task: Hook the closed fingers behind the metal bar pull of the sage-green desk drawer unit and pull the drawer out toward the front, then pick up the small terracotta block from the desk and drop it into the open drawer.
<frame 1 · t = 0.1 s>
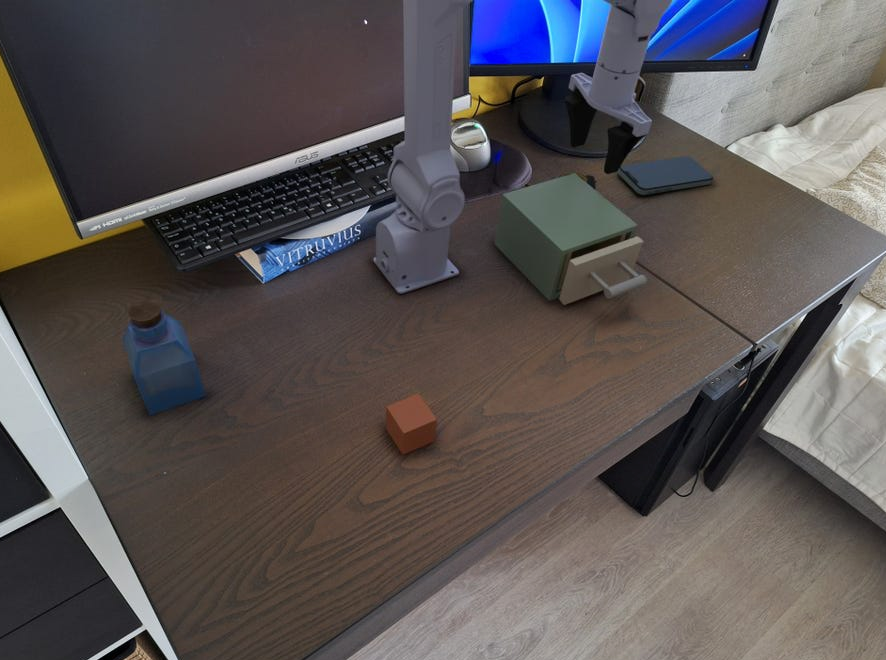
hand: (593, 158, 96), 10 cm above the table, tool pointing down, fingers open, 7 cm apart
smartphone: (663, 180, 112), on the table
perfume bottle: (171, 387, 77), on the table
block: (410, 434, 74), on the table
drawer: (585, 256, 90), point 4 cm above the table, slide at 1.0 cm
cabinet: (556, 259, 96), on the table
tape measure: (575, 203, 106), on the table
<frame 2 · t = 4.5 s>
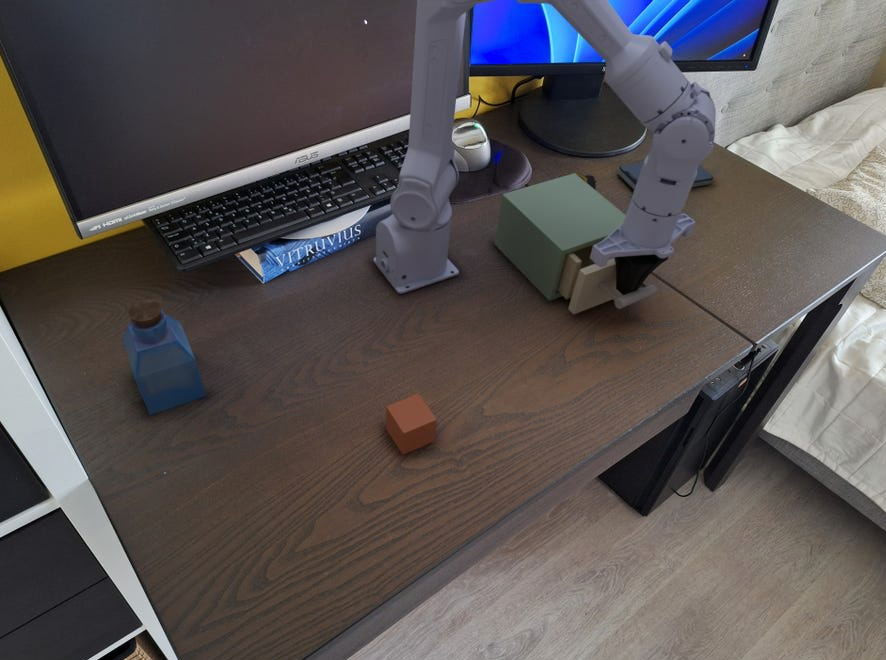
hand: (624, 291, 86), 4 cm above the table, tool pointing down, fingers closed, pressing on drawer
drawer: (594, 264, 89), point 4 cm above the table, slide at 3.0 cm, touching gripper
everything else where it was.
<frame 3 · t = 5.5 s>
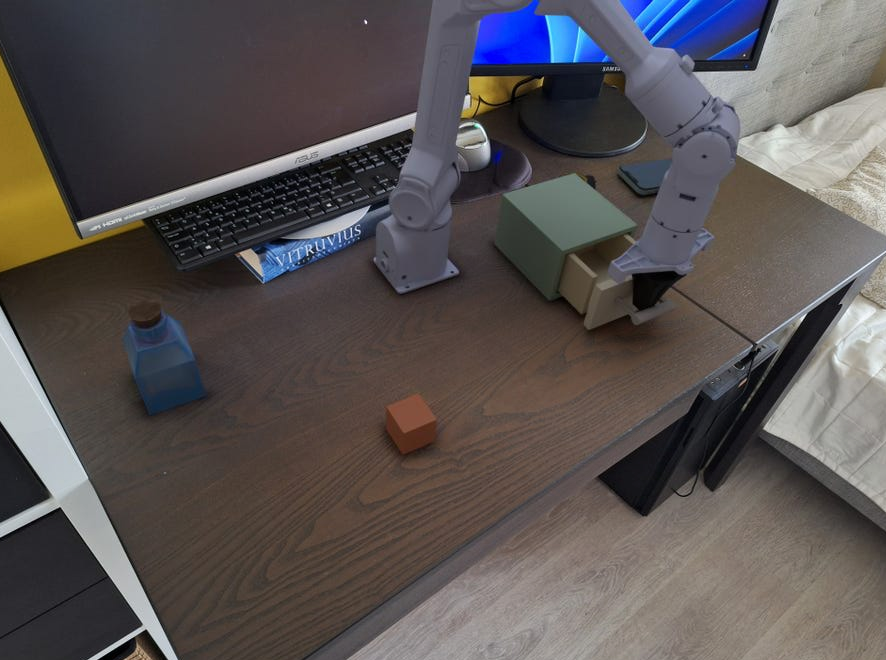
hand: (641, 306, 84), 4 cm above the table, tool pointing down, fingers closed, pressing on drawer
drawer: (610, 279, 87), point 4 cm above the table, slide at 6.2 cm, touching gripper
everything else where it was.
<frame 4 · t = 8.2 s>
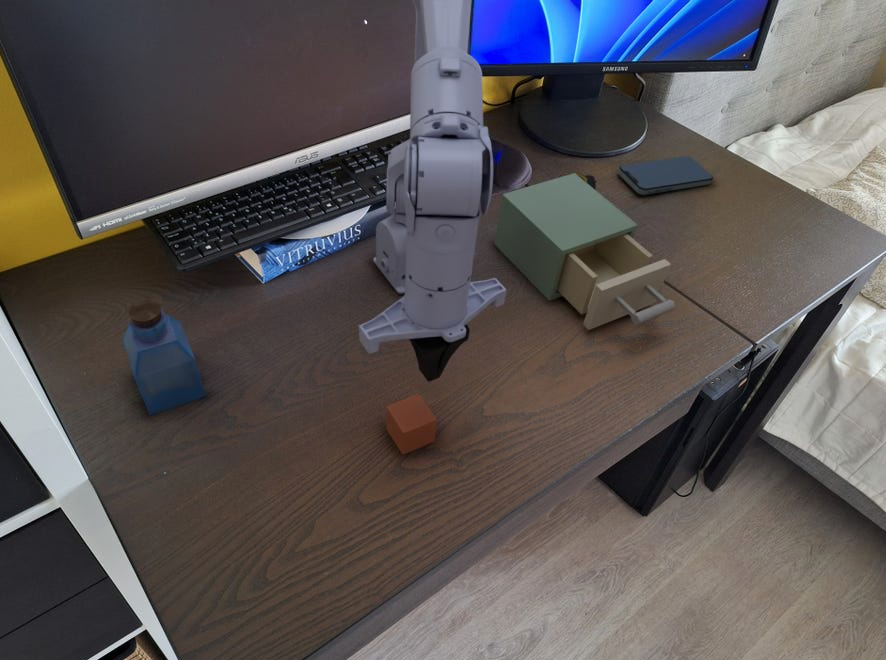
hand: (429, 373, 68), 9 cm above the table, tool pointing down, fingers closed
drawer: (610, 279, 87), point 4 cm above the table, slide at 6.2 cm
everything else where it was.
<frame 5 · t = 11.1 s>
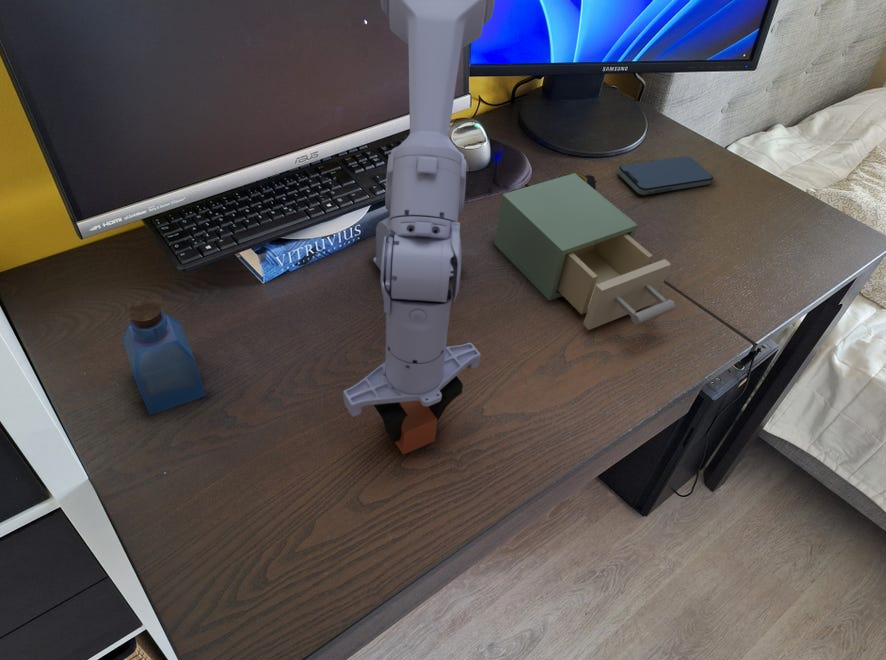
hand: (410, 427, 73), 1 cm above the table, tool pointing down, fingers closed on block, 4 cm apart
block: (410, 434, 74), on the table, touching gripper
everything else where it was.
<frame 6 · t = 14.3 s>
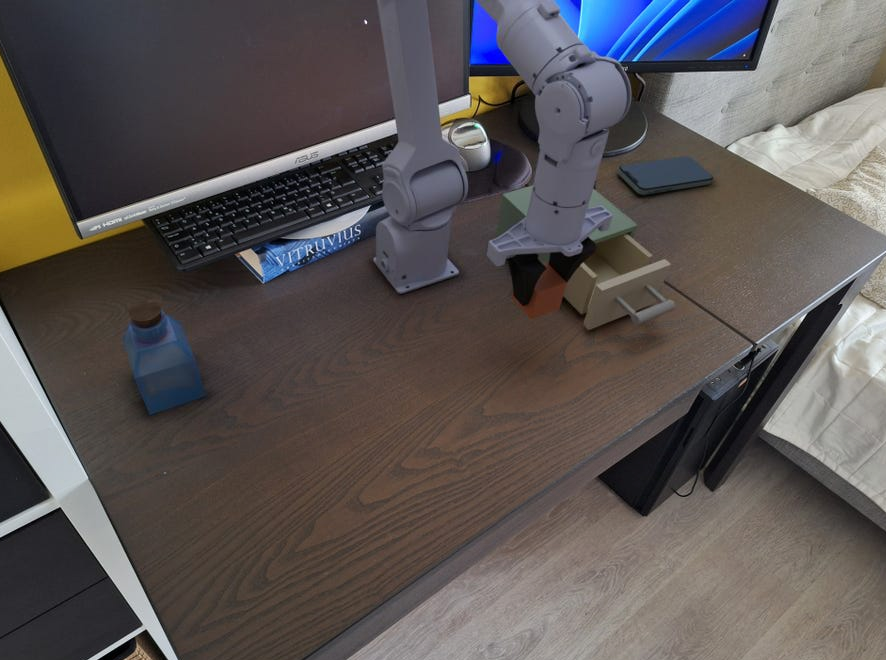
hand: (536, 294, 75), 10 cm above the table, tool pointing down, fingers closed on block, 4 cm apart
block: (535, 303, 76), point 9 cm above the table, touching gripper
everything else where it was.
when the fingers open (6 cm above the table, at t = 17.7 s): block drops 3 cm, resting on drawer.
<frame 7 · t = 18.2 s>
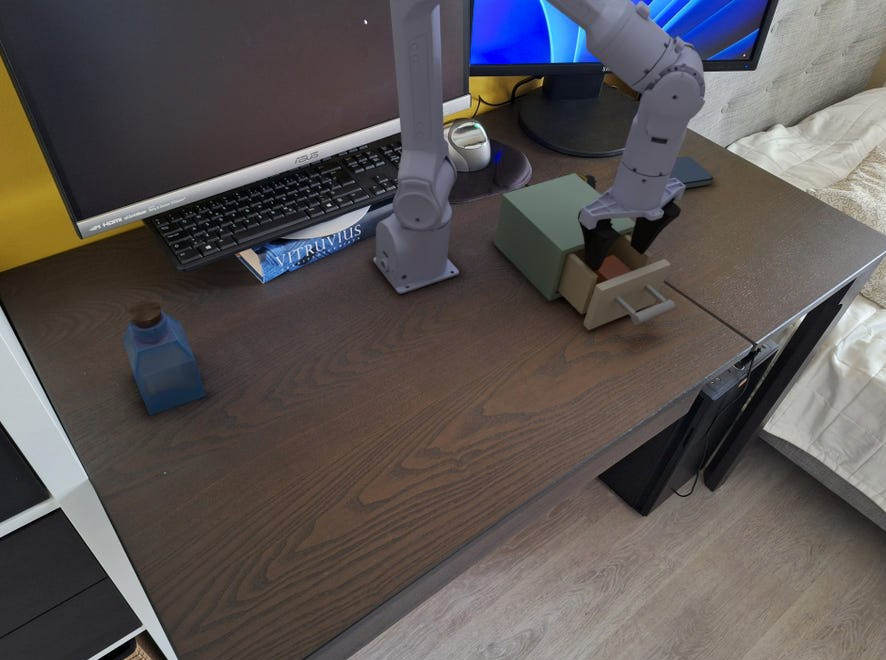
hand: (614, 257, 85), 8 cm above the table, tool pointing down, fingers open, 7 cm apart
block: (604, 290, 89), point 2 cm above the table, touching drawer
drawer: (610, 279, 87), point 4 cm above the table, slide at 6.2 cm, touching block
everything else where it was.
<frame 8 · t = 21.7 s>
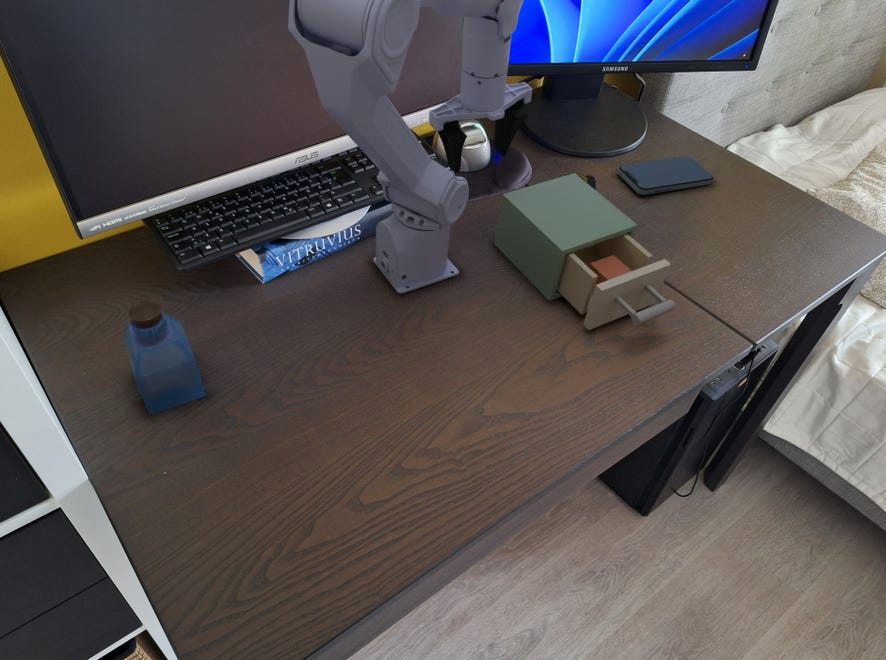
hand: (477, 160, 93), 10 cm above the table, tool pointing down, fingers open, 7 cm apart
nothing on the table moved.
at the end: drawer slide at 6.2 cm; block inside the target area in the drawer (3.5 cm from its centre), point 2.0 cm above the cabinet's base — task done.
